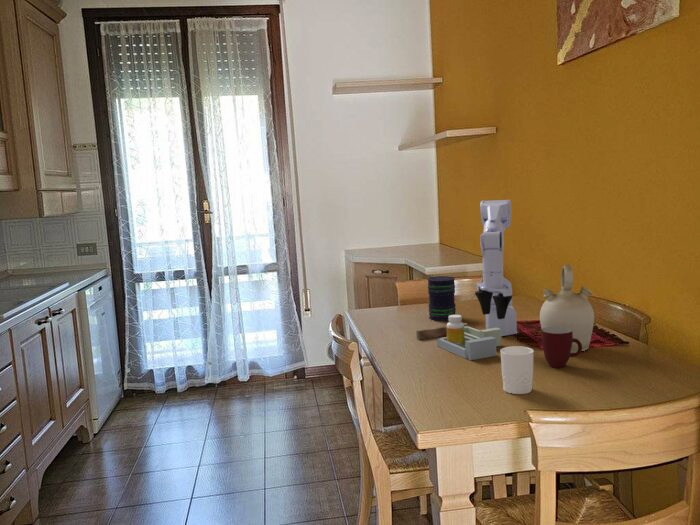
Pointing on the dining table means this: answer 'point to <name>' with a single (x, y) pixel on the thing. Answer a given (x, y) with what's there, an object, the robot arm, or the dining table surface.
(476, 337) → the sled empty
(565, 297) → the jug
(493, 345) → the gray rectangular open frame
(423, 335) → the walnut guide
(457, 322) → the supplement bottle
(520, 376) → the white cup
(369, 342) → the dining table surface
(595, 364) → the dining table surface
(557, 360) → the mug
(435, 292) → the storage jar
